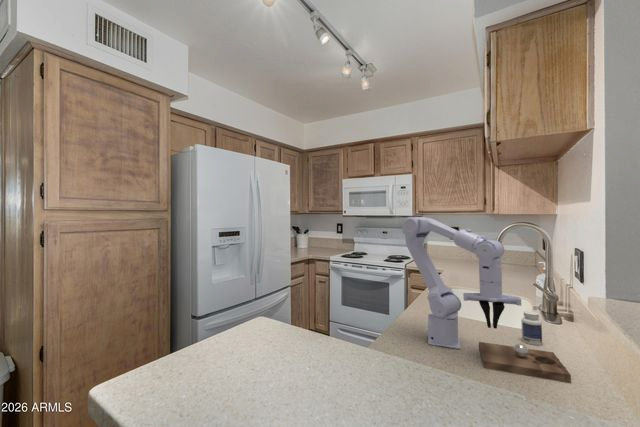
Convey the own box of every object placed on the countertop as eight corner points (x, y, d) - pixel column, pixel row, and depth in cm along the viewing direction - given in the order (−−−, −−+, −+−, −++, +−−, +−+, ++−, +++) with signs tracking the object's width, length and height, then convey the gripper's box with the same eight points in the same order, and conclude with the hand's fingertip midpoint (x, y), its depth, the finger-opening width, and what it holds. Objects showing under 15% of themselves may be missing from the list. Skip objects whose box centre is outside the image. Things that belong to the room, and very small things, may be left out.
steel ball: (515, 358, 79) (514, 345, 79) (512, 352, 82) (512, 340, 83) (530, 360, 78) (530, 347, 78) (527, 355, 81) (526, 342, 81)
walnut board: (483, 367, 78) (483, 360, 78) (479, 348, 90) (478, 341, 90) (572, 383, 70) (571, 375, 70) (554, 359, 82) (553, 352, 82)
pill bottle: (546, 346, 91) (544, 315, 91) (527, 345, 92) (526, 314, 92) (536, 339, 96) (535, 310, 96) (519, 338, 97) (518, 309, 97)
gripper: (463, 281, 83) (465, 328, 83) (523, 285, 77) (525, 335, 77) (462, 277, 89) (463, 320, 89) (517, 280, 83) (519, 326, 83)
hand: (491, 327), depth 83 cm, fingers closed
